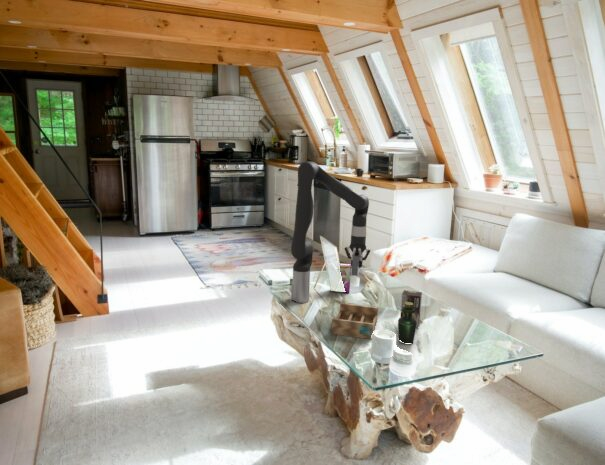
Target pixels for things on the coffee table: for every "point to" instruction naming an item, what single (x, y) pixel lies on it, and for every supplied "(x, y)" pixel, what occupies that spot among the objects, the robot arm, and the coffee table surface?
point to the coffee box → (416, 300)
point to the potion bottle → (407, 324)
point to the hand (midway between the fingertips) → (356, 267)
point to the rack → (355, 320)
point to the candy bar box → (346, 275)
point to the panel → (355, 264)
